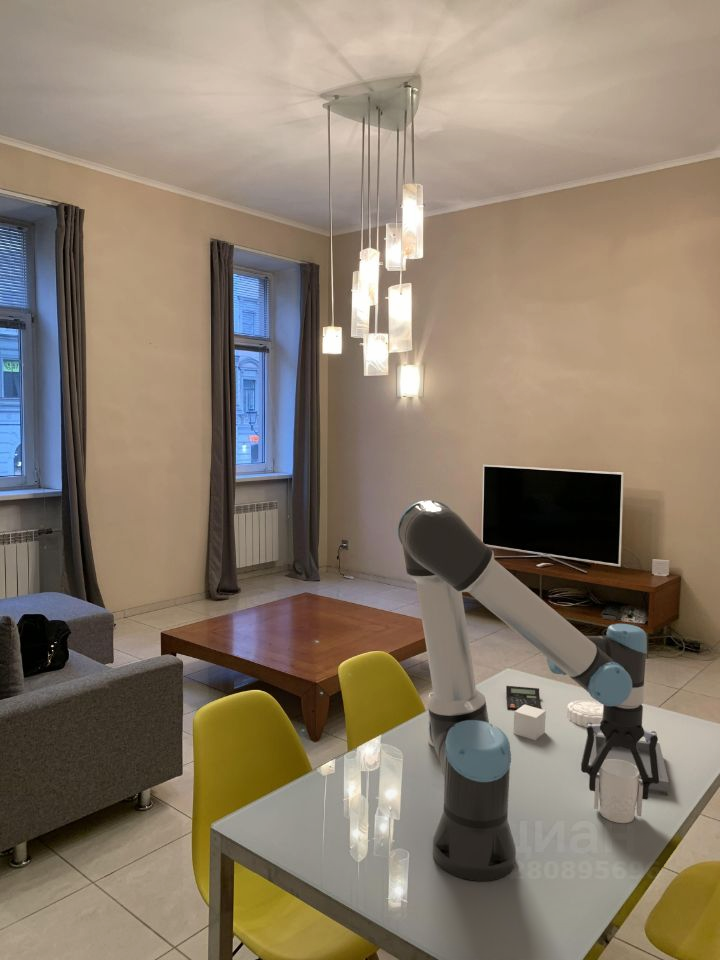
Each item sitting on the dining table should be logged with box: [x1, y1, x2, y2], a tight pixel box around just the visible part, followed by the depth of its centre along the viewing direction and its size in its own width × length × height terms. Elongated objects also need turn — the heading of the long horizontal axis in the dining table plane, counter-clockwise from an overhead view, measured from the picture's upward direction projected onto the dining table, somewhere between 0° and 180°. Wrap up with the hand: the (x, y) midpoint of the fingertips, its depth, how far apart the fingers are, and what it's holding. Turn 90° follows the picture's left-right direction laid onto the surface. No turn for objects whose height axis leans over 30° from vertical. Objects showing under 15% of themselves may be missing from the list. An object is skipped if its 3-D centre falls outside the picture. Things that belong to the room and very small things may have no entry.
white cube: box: [513, 705, 547, 741], centre depth 187 cm, size 6×6×6 cm
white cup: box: [599, 759, 640, 824], centre depth 149 cm, size 8×8×10 cm
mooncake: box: [566, 699, 603, 728], centre depth 197 cm, size 12×12×4 cm
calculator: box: [505, 685, 542, 711], centre depth 207 cm, size 9×12×3 cm
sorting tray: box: [589, 734, 670, 796], centre depth 169 cm, size 20×16×3 cm
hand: (617, 809), depth 149 cm, fingers closed on white cup, 8 cm apart
